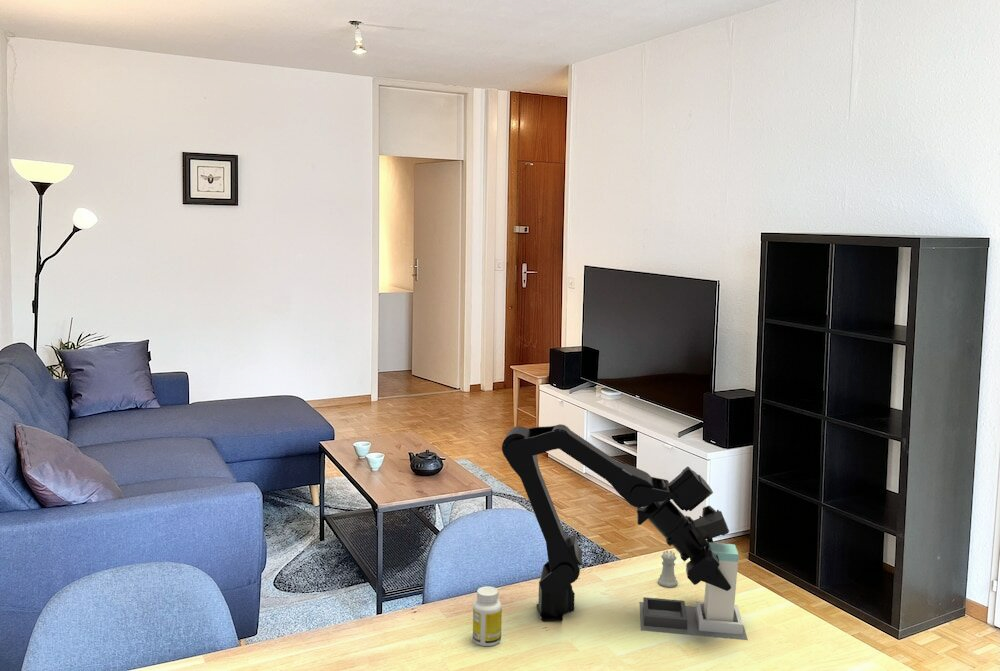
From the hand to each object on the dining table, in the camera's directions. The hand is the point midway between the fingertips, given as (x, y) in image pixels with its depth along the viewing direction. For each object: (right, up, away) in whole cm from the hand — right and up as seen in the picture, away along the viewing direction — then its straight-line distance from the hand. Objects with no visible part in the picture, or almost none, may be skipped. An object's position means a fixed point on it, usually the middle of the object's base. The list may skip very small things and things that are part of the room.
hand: (727, 583), depth 161 cm
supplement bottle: (-47, -9, -5) cm, 48 cm away
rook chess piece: (-8, -7, +19) cm, 21 cm away
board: (-7, -9, +2) cm, 11 cm away
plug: (-2, -7, +1) cm, 7 cm away
